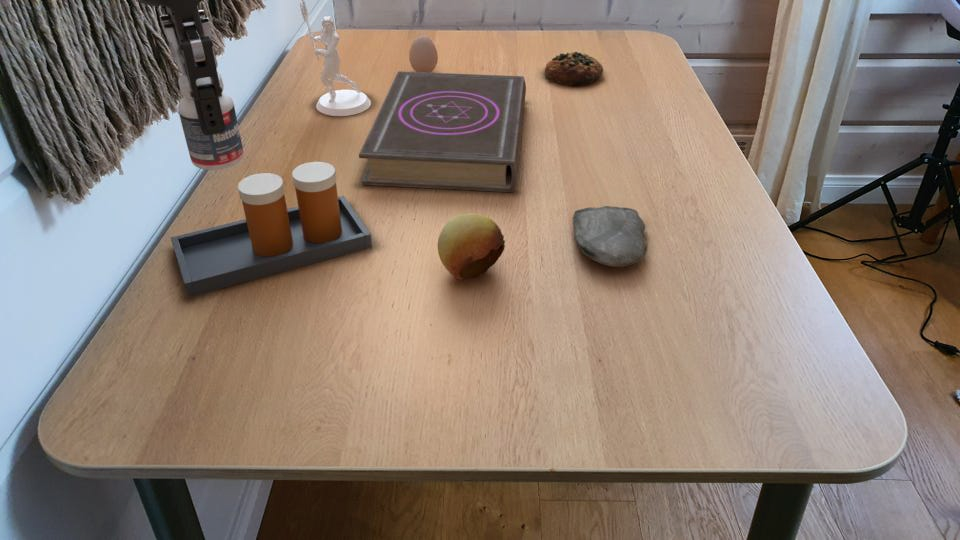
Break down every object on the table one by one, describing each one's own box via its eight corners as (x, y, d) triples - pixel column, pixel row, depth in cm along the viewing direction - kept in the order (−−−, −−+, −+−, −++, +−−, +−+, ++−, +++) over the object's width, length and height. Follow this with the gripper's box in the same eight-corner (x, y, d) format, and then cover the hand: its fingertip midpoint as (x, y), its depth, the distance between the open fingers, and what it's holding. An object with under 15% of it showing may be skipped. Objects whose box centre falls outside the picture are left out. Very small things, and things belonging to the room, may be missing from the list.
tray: (188, 297, 85) (184, 283, 84) (174, 250, 93) (170, 237, 92) (372, 247, 94) (370, 234, 93) (345, 207, 101) (343, 195, 100)
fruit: (513, 263, 91) (515, 208, 86) (483, 302, 85) (484, 245, 80) (458, 248, 94) (457, 194, 89) (426, 284, 88) (423, 228, 83)
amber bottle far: (308, 248, 93) (298, 186, 87) (297, 227, 96) (286, 167, 91) (348, 237, 95) (340, 176, 89) (335, 218, 98) (327, 157, 93)
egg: (429, 81, 136) (428, 42, 132) (404, 76, 138) (402, 38, 134) (443, 71, 140) (442, 33, 136) (418, 67, 142) (417, 29, 138)
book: (399, 98, 130) (397, 71, 127) (525, 103, 129) (526, 76, 126) (361, 185, 106) (358, 154, 103) (516, 192, 105) (517, 161, 102)
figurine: (308, 98, 130) (293, -6, 119) (359, 88, 134) (349, -14, 123) (325, 120, 123) (310, 11, 112) (378, 109, 127) (369, 3, 116)
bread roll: (565, 90, 133) (566, 62, 130) (532, 77, 141) (532, 50, 139) (614, 81, 137) (616, 53, 135) (580, 69, 146) (581, 43, 144)
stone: (571, 218, 100) (573, 197, 98) (641, 220, 99) (644, 199, 97) (574, 276, 89) (576, 254, 87) (652, 279, 88) (656, 257, 86)
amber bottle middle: (257, 261, 90) (243, 198, 85) (247, 240, 94) (233, 178, 89) (298, 250, 92) (287, 188, 87) (287, 230, 96) (276, 169, 90)
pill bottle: (224, 175, 74) (204, 91, 68) (181, 166, 75) (158, 84, 70) (254, 151, 78) (238, 70, 72) (213, 143, 79) (193, 63, 74)
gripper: (111, -74, 67) (160, 100, 77) (126, -35, 57) (180, 159, 67) (196, -82, 70) (232, 87, 80) (225, -46, 60) (262, 142, 70)
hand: (208, 119), depth 74 cm, fingers closed on pill bottle, 5 cm apart
